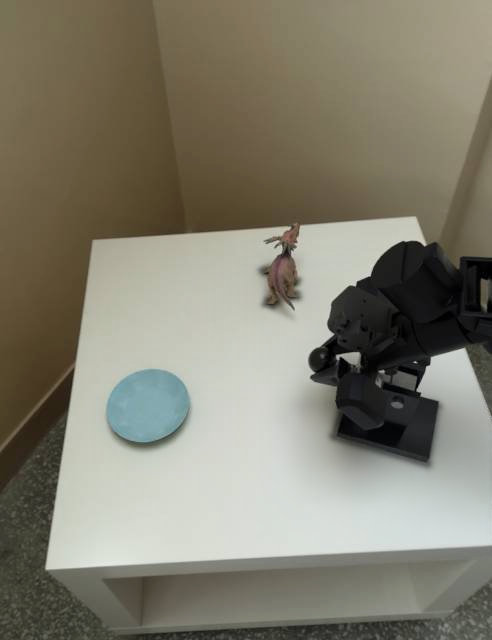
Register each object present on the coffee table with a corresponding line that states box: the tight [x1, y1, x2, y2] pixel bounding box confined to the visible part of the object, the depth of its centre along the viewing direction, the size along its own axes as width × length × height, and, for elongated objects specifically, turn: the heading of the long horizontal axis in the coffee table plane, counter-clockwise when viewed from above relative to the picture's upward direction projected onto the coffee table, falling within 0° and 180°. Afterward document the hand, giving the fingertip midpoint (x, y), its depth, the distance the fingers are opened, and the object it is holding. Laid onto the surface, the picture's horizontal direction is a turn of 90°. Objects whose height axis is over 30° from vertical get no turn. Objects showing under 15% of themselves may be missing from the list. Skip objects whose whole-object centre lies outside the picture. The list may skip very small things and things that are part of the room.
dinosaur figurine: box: [262, 222, 301, 312], centre depth 84 cm, size 14×6×9 cm, turn 176°
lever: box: [307, 346, 417, 391], centre depth 66 cm, size 13×4×4 cm, turn 70°
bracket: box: [335, 362, 440, 463], centre depth 68 cm, size 12×9×11 cm
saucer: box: [105, 368, 190, 443], centre depth 75 cm, size 12×12×2 cm
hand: (314, 366), depth 68 cm, fingers open, 4 cm apart
